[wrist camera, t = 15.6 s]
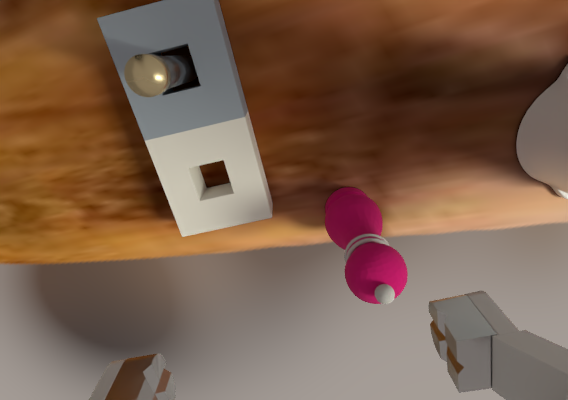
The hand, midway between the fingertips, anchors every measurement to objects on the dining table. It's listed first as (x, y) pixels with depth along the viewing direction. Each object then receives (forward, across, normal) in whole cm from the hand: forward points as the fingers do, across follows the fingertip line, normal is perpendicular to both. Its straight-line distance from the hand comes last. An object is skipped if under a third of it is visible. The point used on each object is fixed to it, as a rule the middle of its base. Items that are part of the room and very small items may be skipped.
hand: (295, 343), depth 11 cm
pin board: (+37, +10, -2) cm, 38 cm away
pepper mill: (+37, -6, +14) cm, 40 cm away
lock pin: (+37, +10, -8) cm, 39 cm away
